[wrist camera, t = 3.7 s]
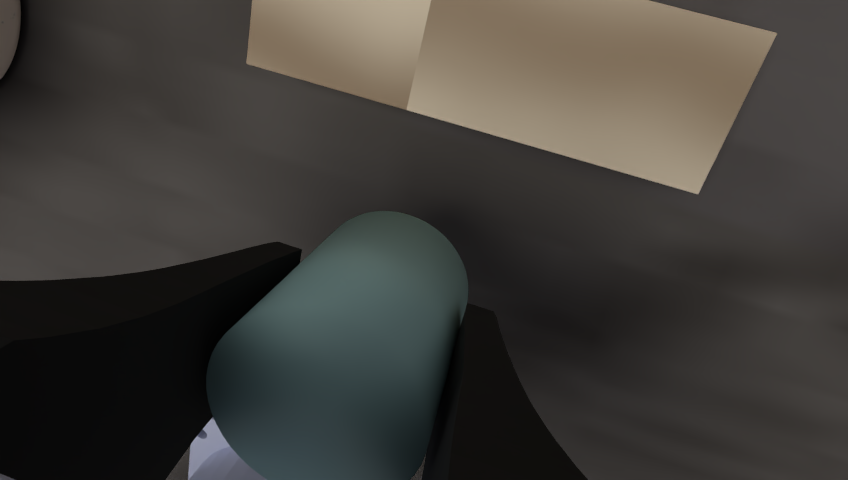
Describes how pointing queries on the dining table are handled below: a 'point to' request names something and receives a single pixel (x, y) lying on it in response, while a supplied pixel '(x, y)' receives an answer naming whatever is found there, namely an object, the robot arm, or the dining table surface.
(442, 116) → the notched board
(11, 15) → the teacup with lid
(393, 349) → the teal peg
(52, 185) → the dining table surface
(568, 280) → the dining table surface
